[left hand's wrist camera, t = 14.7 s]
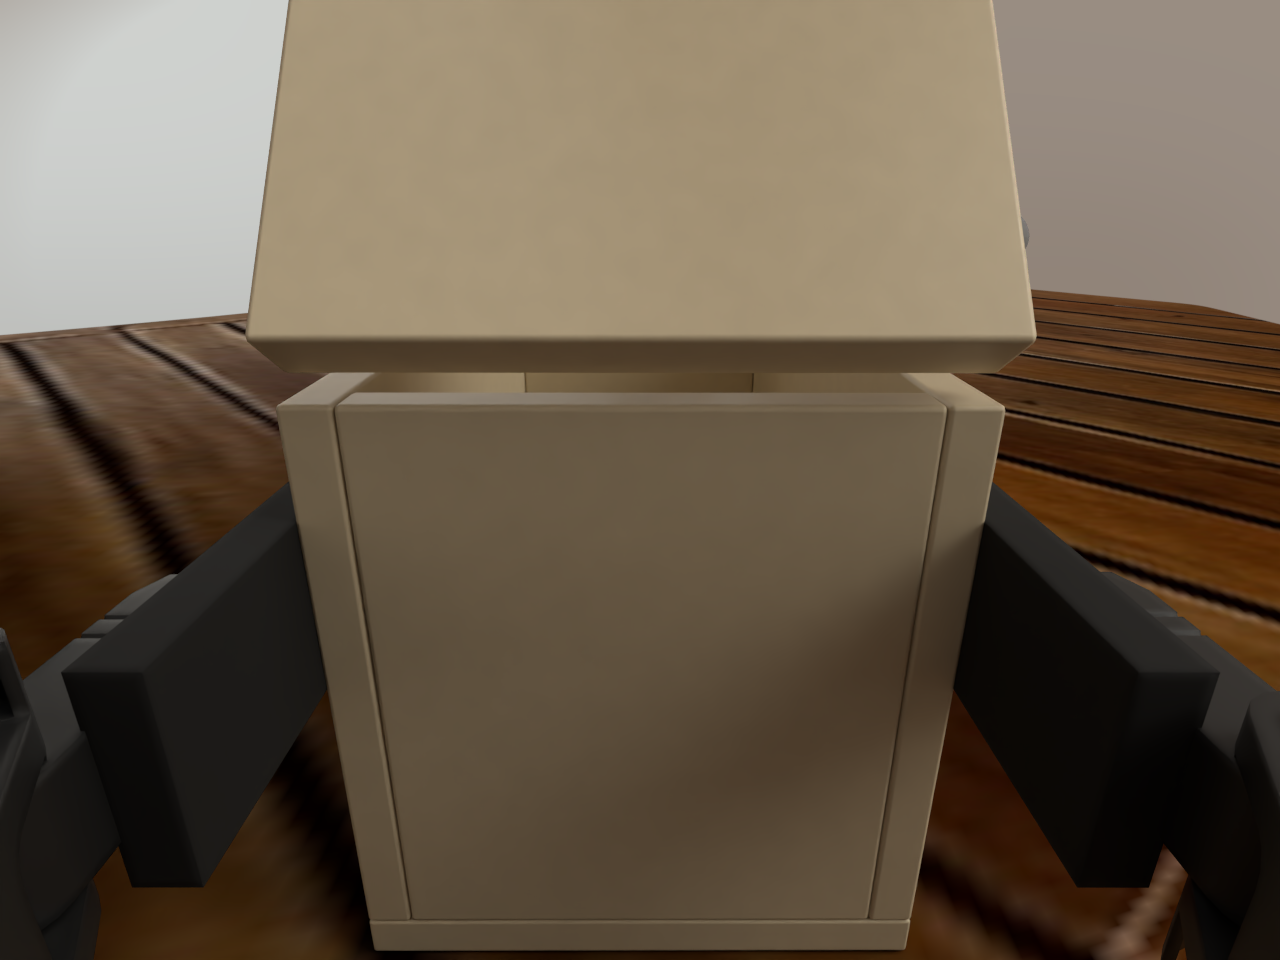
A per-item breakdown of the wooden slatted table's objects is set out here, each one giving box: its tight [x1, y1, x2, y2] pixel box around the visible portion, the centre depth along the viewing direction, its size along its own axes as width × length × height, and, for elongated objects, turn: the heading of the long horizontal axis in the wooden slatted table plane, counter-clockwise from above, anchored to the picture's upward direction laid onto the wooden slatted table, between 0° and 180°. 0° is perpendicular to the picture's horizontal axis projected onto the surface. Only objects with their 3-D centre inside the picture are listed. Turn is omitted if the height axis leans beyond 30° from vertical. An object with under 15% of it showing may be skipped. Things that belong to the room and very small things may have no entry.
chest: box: [276, 373, 1005, 951], centre depth 19 cm, size 17×9×10 cm, turn 0°
